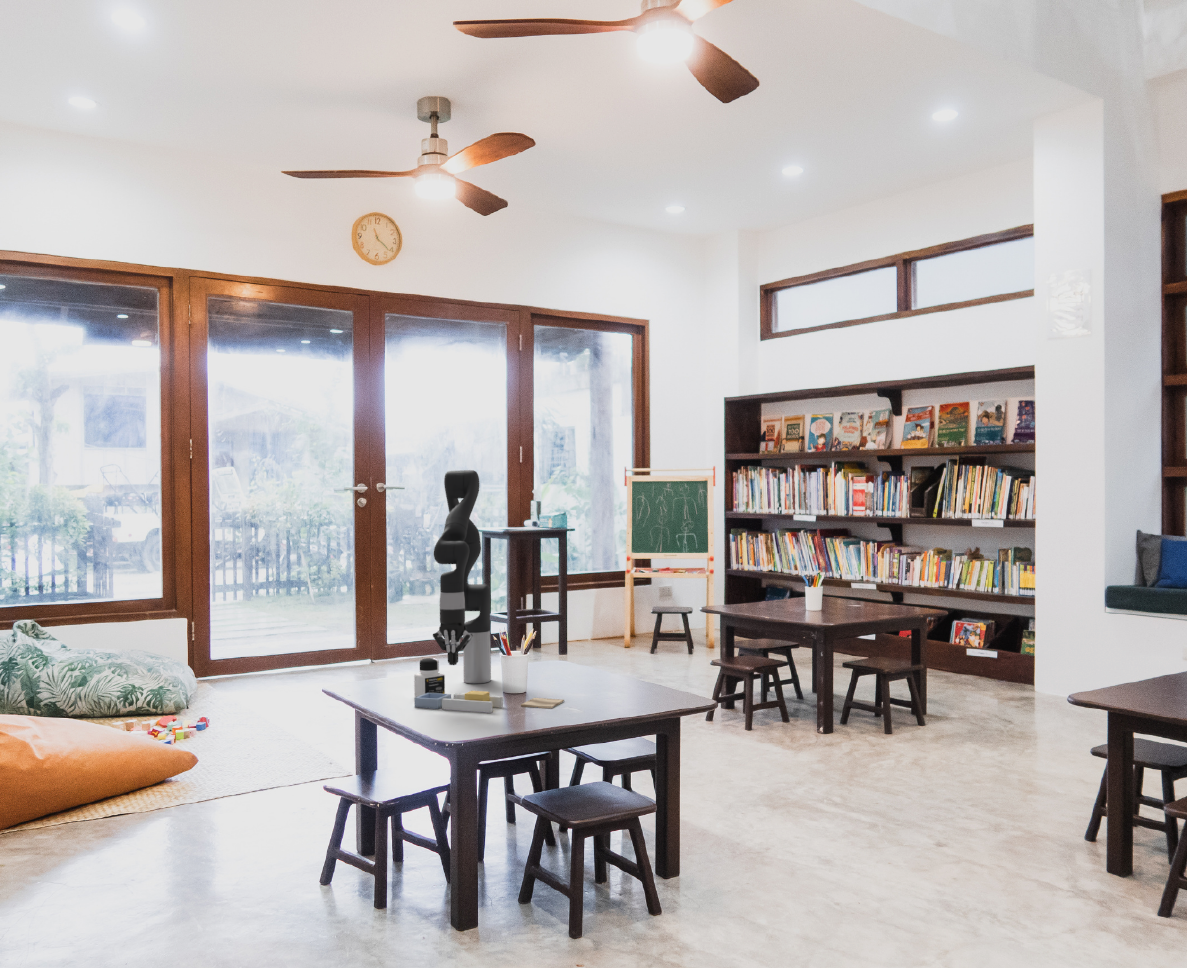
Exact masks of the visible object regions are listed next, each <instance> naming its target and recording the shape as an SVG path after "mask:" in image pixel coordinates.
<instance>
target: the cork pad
mask: <svg viewBox="0 0 1187 968" xmlns="http://www.w3.org/2000/svg"><path fill="white" fill-rule="evenodd" d="M563 701H564V702H565V699H560V698H559V699H557V698H556V699H555V698H547V697H545V698H541V697H533V698H531V699H529V700H527V701H525V702H523V703H521V704H520V707H521V708H522V707H523V708H536V707H538V708H539V709H551V708H552V709H554V708H555V707H557V706H558V705H560V703H561V704H563V703H564V702H563ZM562 702H563V703H562ZM554 706H555V707H554ZM553 707H554V708H553Z"/></svg>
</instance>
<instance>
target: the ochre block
mask: <svg viewBox="0 0 1187 968" xmlns="http://www.w3.org/2000/svg"><path fill="white" fill-rule="evenodd" d="M490 693H491V692H490V691H484V690H483V691H481V690H470V691H467V692H465V693H464V694H465V700H476V701H490V696H491V695H490Z"/></svg>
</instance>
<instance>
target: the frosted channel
mask: <svg viewBox="0 0 1187 968" xmlns="http://www.w3.org/2000/svg"><path fill="white" fill-rule="evenodd" d="M503 707H504V696H499V695H490V701H476V700H465V693H455V694H453V698H451V699H445V698H444V699H442V707H441V710H447V711H462V712H472V713H473V712H475V713H487V714H488V713H490V714H491V713H493V708H500V709H501V708H503Z"/></svg>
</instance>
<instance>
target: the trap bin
mask: <svg viewBox="0 0 1187 968" xmlns="http://www.w3.org/2000/svg"><path fill="white" fill-rule="evenodd" d="M444 698H445V699H452V694H450V693H445V694H440V693H426V694H423V695H421V696H418V697H414V708H421V709H433V710H434V709H435V710H439V709H442V699H444Z"/></svg>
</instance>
